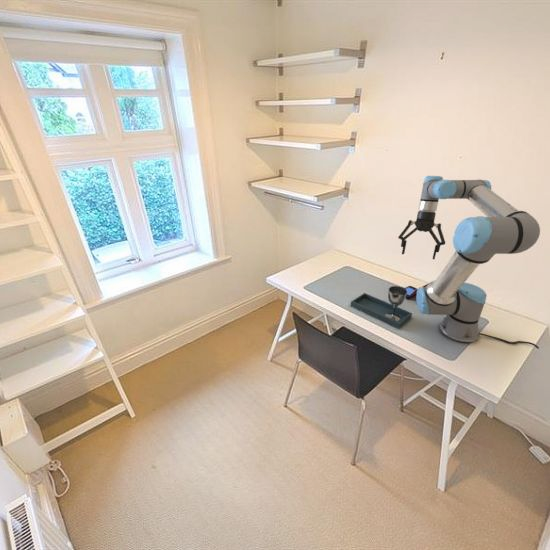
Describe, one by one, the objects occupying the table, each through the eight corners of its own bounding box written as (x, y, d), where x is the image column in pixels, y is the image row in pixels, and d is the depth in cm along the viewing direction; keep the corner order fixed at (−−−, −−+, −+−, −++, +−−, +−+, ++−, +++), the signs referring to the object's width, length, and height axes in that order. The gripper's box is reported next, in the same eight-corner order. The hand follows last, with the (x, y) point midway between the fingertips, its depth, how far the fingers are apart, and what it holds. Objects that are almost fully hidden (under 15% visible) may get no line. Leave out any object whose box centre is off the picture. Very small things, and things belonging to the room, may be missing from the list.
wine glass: (402, 322, 148) (408, 295, 141) (385, 320, 149) (389, 294, 142) (400, 313, 154) (405, 286, 147) (383, 311, 156) (387, 285, 149)
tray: (411, 318, 151) (412, 313, 150) (398, 328, 144) (399, 323, 143) (363, 297, 169) (364, 292, 167) (350, 306, 162) (351, 301, 160)
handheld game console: (409, 287, 178) (412, 275, 174) (427, 295, 170) (430, 283, 166) (395, 293, 171) (397, 282, 168) (413, 302, 163) (415, 290, 160)
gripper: (458, 213, 140) (447, 259, 146) (400, 208, 152) (392, 250, 158) (457, 214, 134) (446, 262, 140) (397, 208, 146) (389, 253, 152)
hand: (417, 256), depth 149 cm, fingers open, 13 cm apart
